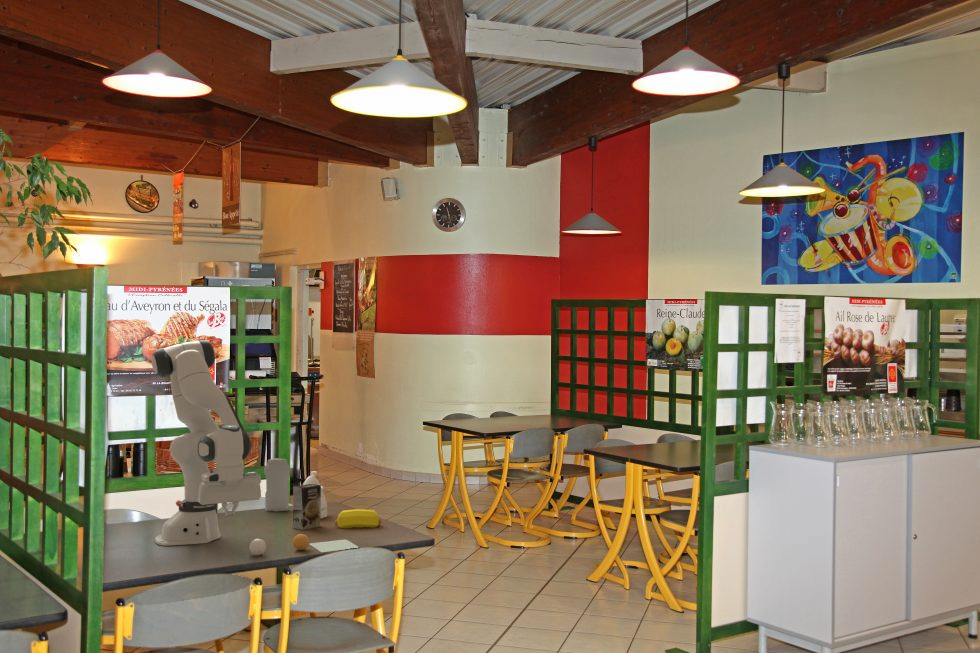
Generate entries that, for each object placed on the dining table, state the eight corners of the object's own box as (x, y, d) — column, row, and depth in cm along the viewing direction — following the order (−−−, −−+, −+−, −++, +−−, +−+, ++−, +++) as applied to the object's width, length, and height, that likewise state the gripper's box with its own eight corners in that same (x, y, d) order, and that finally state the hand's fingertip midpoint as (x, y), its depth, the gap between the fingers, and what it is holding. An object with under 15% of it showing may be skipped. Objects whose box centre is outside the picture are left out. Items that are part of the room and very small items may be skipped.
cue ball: (251, 557, 299) (251, 541, 299) (247, 554, 304) (247, 538, 304) (268, 555, 302) (268, 539, 302) (263, 552, 307) (263, 536, 307)
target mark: (321, 552, 307) (321, 552, 307) (308, 544, 319) (308, 543, 319) (359, 548, 314) (359, 547, 314) (345, 539, 326) (345, 539, 326)
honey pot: (305, 512, 375) (306, 469, 375) (332, 514, 371) (333, 471, 371) (288, 518, 363) (289, 473, 363) (316, 520, 359) (317, 475, 359)
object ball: (295, 552, 307) (295, 536, 307) (290, 549, 312) (290, 533, 312) (311, 550, 310) (311, 534, 310) (306, 547, 314) (306, 531, 314)
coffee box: (303, 530, 341) (303, 488, 341) (291, 528, 345) (292, 486, 345) (321, 526, 348) (321, 484, 348) (310, 524, 352) (310, 483, 352)
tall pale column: (263, 511, 376) (263, 458, 376) (264, 509, 380) (265, 457, 380) (289, 511, 377) (289, 458, 377) (290, 509, 381) (290, 457, 381)
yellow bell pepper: (381, 528, 346) (381, 524, 353) (381, 511, 346) (381, 507, 354) (334, 529, 343) (335, 525, 351) (334, 512, 344) (335, 508, 351)
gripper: (258, 470, 306) (258, 510, 306) (196, 475, 296) (196, 517, 296) (263, 472, 301) (263, 513, 301) (200, 477, 291) (200, 520, 291)
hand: (230, 515), depth 298 cm, fingers closed
